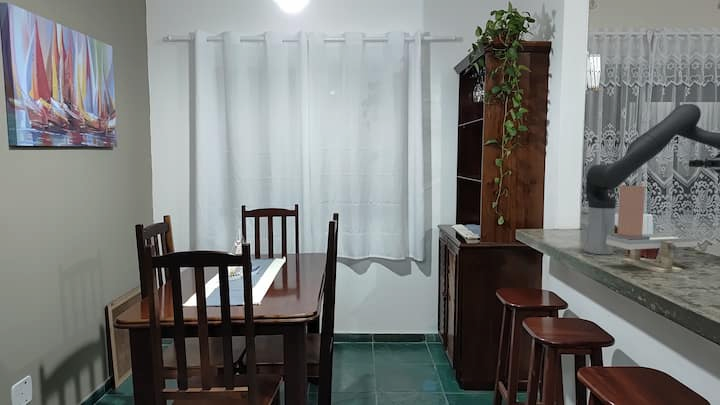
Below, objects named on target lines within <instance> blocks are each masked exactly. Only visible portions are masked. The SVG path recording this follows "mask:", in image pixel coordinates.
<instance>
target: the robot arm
mask: <svg viewBox="0 0 720 405" xmlns="http://www.w3.org/2000/svg"><path fill="white" fill-rule="evenodd" d="M701 115H702V112H701V109H700V107H699V106H698V105H696V104H695V103H694V104H693V103H684V104H681V105H678V106H676V107H675V108H674V109H673V110H672V111H671V112H670V113H669V114H667V116H666V117H665V118H663V119H662V120H661V121H659V122H658V123H657V124H655V125H654V126H652V127H651V128H650V129H648V130H647V131H645V132H644V133H642V134H641V135H640V136H638V137H636V138H635V139H634V140H633V141H632V142H631V143H629V145H628V147H627V149H626V152H625V154H624V155H623V156H622V157H620V158H619V159H618V160H617V161H615V162H613V163H611V164H594V165H591V167H589V168H588V171H587V173H586V181H585V182H586V183H585V186H586V192H585V193H586V195H585V196H586V200H587V203H588V204H587V205H588V207H587V225H586V226H585V227H584V241H583V242H584V244H583V251H584V252H585V253H588V254H589V253H590V254H594V255H613V254H614V249H615V248H614V247H615V246H612V245H608V244H606V237H607V236H610V234H614V227H615V225H616V224H615V222H616V205H617V204H616V203H617V202H616V200H615V199H614V198H613V197H611V196H610V194H608V191H609V190H614V189H616V188H618V187H620V186H621V185H622V184H623V183H624V182H625V181H626V180H627V179H628V178H629V177H630V176H631V175H632V174H633V173H634V172H635V171H637V170H638V169H640V168H642V166H643V165H645V164H646V163H648V162H649V161H650V160H652V159H653V158H655V157H656V156H657V155H659V154H660V153H661V152H662V151H663V150H665V148H666V147H667V146H668V144H669V143H670V142H671V141H672V140H673V139H674V137H675V136H676V135H677V136H679V137H682V138H684V139H688V140H691V141H694V142H697V143H700V144H703V145H706V146H709V147H711V148H715V149H716V150H719V151H720V132H715V131H708V130H705V129H703V128H701V127H699V126H698V124H699V121H700V120H701V117H702V116H701ZM688 166H689V167H690V168H691V167H692V168H701V169H707V170H713V171H714V172H715V173H717V174H719V175H720V152H719V153H718V154H716V155H715V156H714V157H708V158H702V159H693V160H689V162H688Z"/></svg>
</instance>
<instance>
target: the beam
mask: <svg viewBox="0 0 720 405" xmlns="http://www.w3.org/2000/svg"><path fill="white" fill-rule="evenodd" d="M642 235H644V236H649V237H650V240H625V239H621V238H617V237H612V236H607V237H606V244H608V245H612V246H613V247H617V248H620V249H621V248H622V249H625V250H631V249H641V250H647V249H648V250H649V249H662V241H670V242H674V245H675V246H676V248H687V247H688V248H690V247H698V241H699V240H698V239H699V237H678V236H674V233H673V232H666V233H664V232H663V233H642Z"/></svg>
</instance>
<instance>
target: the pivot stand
mask: <svg viewBox="0 0 720 405" xmlns="http://www.w3.org/2000/svg"><path fill="white" fill-rule="evenodd" d="M675 249H677V247H676V246H675V245H674V242H670V241H662V248H661V255H660V256H661V257H660V262H657V261H654V260H650V259H646V258H642V257H641V256H642V254H641V253H642V251H641V250H642V249H631V250H630V251H629V252H630V253H629V258H620V262H621V263H624V264H627V265H631V266H635V267H638V268H642V269H644V270H649V271H652V272H656V273H659V274H663V273H664V274H665V273H666V274H667V273H682V272H683V268H681V267H678V266H677V267H676V266H673V264H674V263H673V261H674V260H673V259H674V251H675Z"/></svg>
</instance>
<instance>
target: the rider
mask: <svg viewBox="0 0 720 405" xmlns="http://www.w3.org/2000/svg"><path fill="white" fill-rule="evenodd" d="M645 189H646V188H645V186H642V185H641V186H640V185H619V191H618V192H619V193H618V194H619V196H618V215H617V216H618V217H617V226H618V233H614V234H610V236H612V237H617V238H621V239H625V240H650V237H649V236H644V235H642V234H643V228H644V227H643V226H644V224H643V223H644V206H645V204H644V203H645Z"/></svg>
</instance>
